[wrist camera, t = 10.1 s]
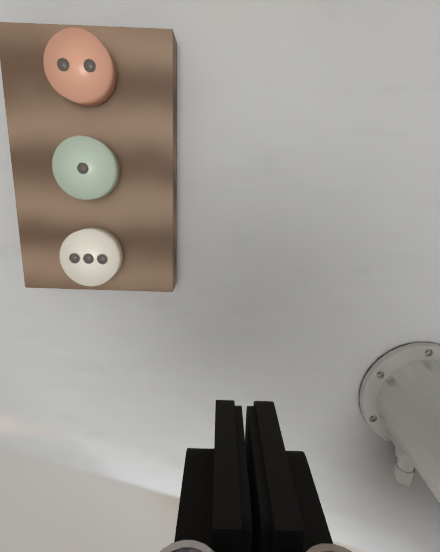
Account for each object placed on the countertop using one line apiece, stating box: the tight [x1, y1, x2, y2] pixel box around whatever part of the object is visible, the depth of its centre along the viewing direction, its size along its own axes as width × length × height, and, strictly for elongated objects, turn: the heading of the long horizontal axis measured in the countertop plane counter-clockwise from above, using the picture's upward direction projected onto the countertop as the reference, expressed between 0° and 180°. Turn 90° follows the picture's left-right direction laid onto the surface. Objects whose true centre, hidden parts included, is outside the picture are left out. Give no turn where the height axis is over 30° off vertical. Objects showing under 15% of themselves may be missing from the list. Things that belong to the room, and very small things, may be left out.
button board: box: [0, 22, 177, 292], centre depth 32 cm, size 22×14×3 cm, turn 178°
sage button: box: [52, 136, 120, 200], centre depth 30 cm, size 5×5×2 cm
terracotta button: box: [43, 28, 117, 107], centre depth 28 cm, size 5×5×2 cm
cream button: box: [60, 227, 123, 286], centre depth 32 cm, size 5×5×2 cm
